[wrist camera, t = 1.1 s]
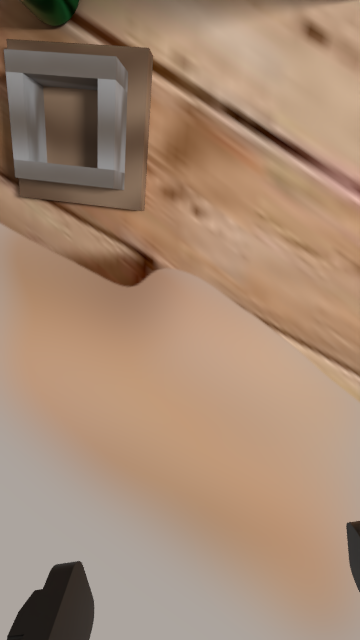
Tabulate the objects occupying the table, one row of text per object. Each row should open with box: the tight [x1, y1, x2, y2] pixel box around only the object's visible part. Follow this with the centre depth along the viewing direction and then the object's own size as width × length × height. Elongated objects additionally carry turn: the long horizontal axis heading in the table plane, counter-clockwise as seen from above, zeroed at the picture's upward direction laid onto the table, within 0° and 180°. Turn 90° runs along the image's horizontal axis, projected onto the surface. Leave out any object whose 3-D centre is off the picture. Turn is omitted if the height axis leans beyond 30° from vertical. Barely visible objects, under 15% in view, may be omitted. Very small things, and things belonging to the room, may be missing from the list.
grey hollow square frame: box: [4, 39, 153, 211], centre depth 28 cm, size 13×13×4 cm
